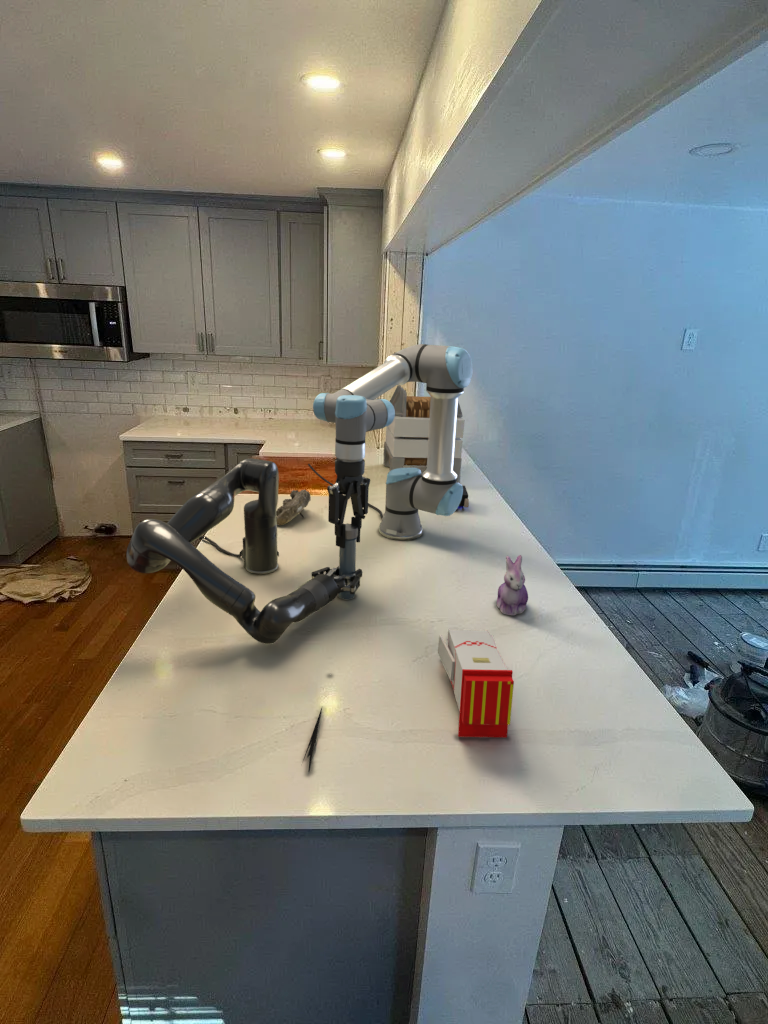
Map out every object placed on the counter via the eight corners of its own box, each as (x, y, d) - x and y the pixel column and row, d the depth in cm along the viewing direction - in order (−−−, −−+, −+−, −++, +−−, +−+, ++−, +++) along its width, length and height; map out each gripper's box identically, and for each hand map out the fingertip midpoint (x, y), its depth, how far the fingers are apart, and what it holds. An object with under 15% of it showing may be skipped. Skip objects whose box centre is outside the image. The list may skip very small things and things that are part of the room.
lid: (335, 533, 150) (335, 525, 150) (352, 530, 153) (352, 522, 152) (344, 540, 146) (344, 531, 146) (361, 537, 149) (361, 528, 148)
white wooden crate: (382, 463, 289) (386, 382, 275) (445, 464, 293) (451, 384, 279) (390, 482, 257) (394, 392, 243) (460, 483, 261) (468, 394, 247)
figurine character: (468, 516, 224) (463, 500, 237) (471, 498, 221) (465, 483, 234) (452, 515, 224) (447, 499, 237) (453, 498, 220) (449, 482, 234)
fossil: (279, 495, 220) (308, 475, 215) (295, 514, 223) (324, 494, 218) (263, 521, 201) (295, 499, 196) (281, 540, 203) (313, 519, 198)
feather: (331, 679, 122) (336, 673, 122) (307, 777, 96) (313, 769, 95) (324, 675, 122) (329, 669, 121) (298, 772, 95) (304, 764, 95)
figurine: (510, 620, 147) (517, 567, 142) (486, 602, 155) (492, 552, 150) (538, 612, 151) (545, 561, 146) (513, 595, 159) (519, 546, 154)
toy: (488, 613, 130) (523, 677, 101) (484, 667, 133) (517, 744, 104) (435, 612, 130) (455, 676, 101) (432, 666, 133) (451, 743, 103)
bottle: (357, 594, 157) (359, 529, 150) (349, 601, 153) (351, 534, 146) (343, 590, 159) (345, 525, 152) (335, 597, 155) (336, 530, 148)
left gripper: (293, 599, 146) (331, 575, 160) (339, 615, 140) (374, 588, 154) (292, 573, 144) (331, 551, 158) (339, 588, 137) (375, 563, 151)
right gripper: (363, 450, 151) (360, 531, 159) (313, 461, 138) (313, 548, 146) (384, 455, 147) (380, 538, 155) (334, 467, 134) (333, 557, 142)
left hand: (352, 569), depth 156 cm, fingers closed on bottle, 4 cm apart
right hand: (348, 543), depth 150 cm, fingers closed on lid, 5 cm apart
